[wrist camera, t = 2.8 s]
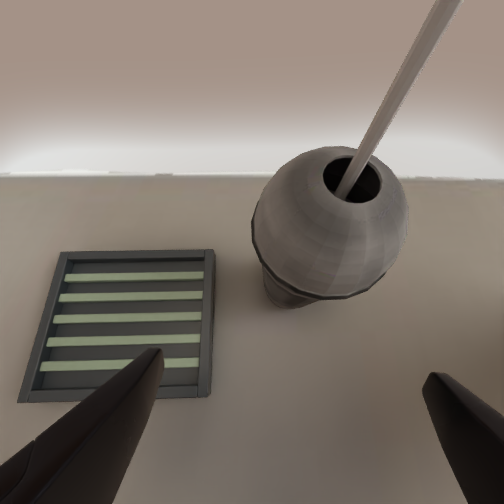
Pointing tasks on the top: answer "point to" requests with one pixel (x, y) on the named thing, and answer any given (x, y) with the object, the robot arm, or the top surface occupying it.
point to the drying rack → (124, 323)
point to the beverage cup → (340, 203)
